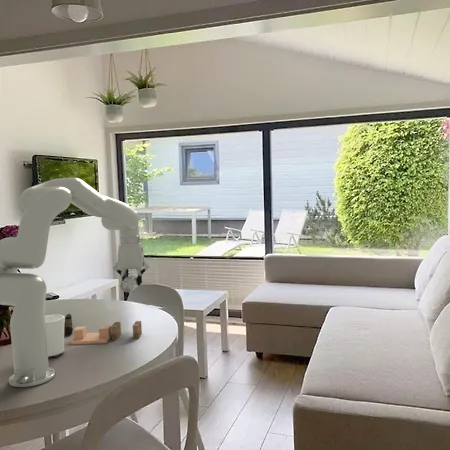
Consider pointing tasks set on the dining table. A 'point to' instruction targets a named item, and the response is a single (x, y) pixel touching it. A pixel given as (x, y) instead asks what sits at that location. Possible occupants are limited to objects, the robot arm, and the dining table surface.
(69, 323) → the hand tool
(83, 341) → the cradle
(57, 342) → the cup
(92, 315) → the dining table surface
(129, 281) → the axle
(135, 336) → the channel block
